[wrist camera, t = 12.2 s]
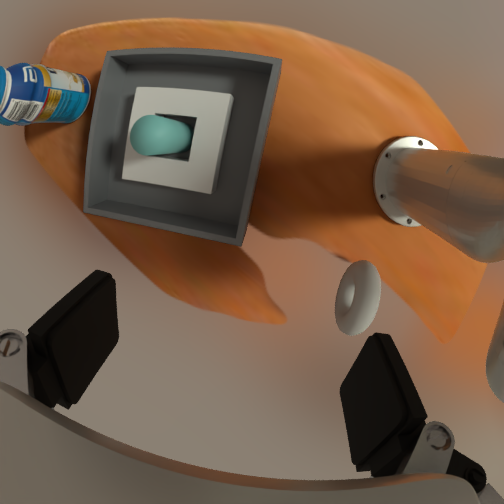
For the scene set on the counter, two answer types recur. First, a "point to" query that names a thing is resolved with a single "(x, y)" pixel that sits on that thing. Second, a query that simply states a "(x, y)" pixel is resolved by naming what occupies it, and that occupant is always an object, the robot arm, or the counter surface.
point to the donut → (357, 297)
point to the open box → (203, 144)
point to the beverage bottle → (41, 95)
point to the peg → (160, 136)
